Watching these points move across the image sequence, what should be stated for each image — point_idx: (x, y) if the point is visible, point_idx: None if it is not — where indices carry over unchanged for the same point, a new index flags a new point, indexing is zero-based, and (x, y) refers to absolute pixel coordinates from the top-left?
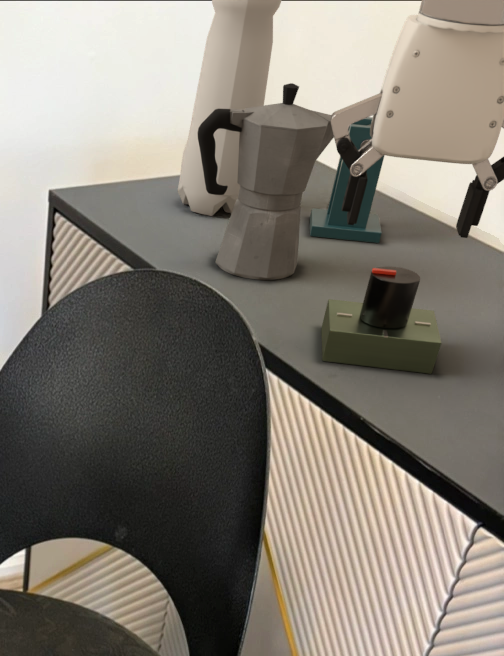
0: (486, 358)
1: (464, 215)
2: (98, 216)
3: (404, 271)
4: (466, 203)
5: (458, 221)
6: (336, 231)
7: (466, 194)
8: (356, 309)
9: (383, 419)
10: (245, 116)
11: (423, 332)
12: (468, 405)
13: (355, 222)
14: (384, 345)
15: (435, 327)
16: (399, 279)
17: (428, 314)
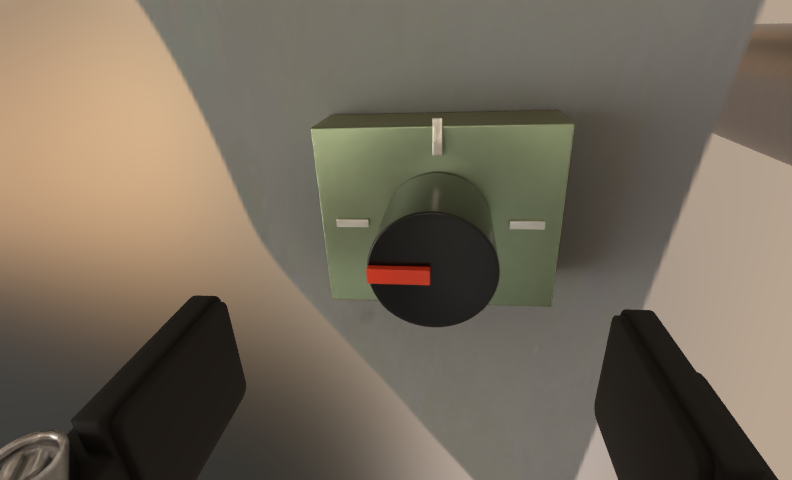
0: (684, 167)
1: (619, 449)
2: None
3: (458, 243)
4: (641, 454)
5: (617, 347)
6: None
7: (667, 419)
8: (378, 177)
9: (441, 422)
10: None
11: (521, 267)
12: (580, 366)
13: (241, 394)
14: None
15: (554, 233)
16: (439, 303)
17: (553, 156)
